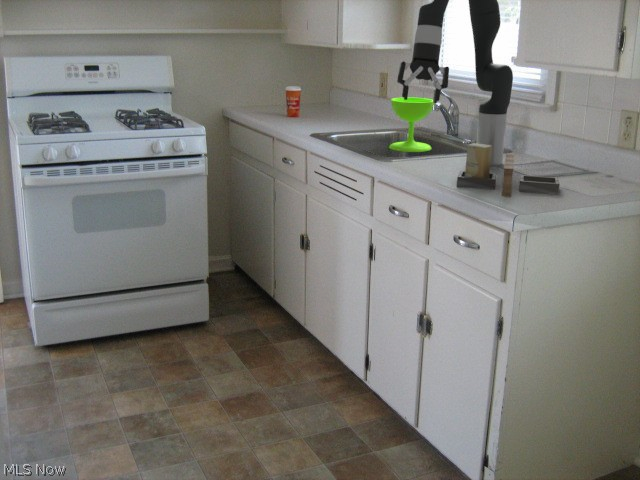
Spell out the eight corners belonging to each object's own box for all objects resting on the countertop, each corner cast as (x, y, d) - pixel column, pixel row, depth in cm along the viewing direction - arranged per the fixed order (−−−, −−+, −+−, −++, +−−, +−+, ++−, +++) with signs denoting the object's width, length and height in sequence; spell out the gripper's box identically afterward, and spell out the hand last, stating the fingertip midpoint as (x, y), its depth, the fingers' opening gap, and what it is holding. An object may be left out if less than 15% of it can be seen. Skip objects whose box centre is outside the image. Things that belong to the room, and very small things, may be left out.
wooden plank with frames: (461, 175, 235) (462, 150, 233) (556, 181, 228) (559, 156, 226) (454, 192, 213) (456, 165, 210) (559, 200, 206) (562, 172, 204)
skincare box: (463, 184, 223) (466, 144, 219) (470, 182, 226) (473, 142, 222) (482, 187, 219) (486, 147, 215) (489, 185, 222) (492, 145, 219)
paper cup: (283, 117, 353) (283, 87, 349) (287, 114, 360) (287, 85, 356) (298, 117, 352) (299, 88, 347) (303, 115, 359) (303, 86, 354)
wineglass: (419, 153, 270) (421, 103, 264) (381, 148, 278) (383, 100, 273) (438, 147, 282) (441, 99, 277) (401, 142, 291) (404, 96, 285)
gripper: (449, 48, 213) (441, 104, 216) (400, 42, 212) (393, 99, 215) (455, 45, 206) (447, 103, 208) (404, 38, 205) (397, 97, 207)
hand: (420, 101), depth 211 cm, fingers open, 8 cm apart
